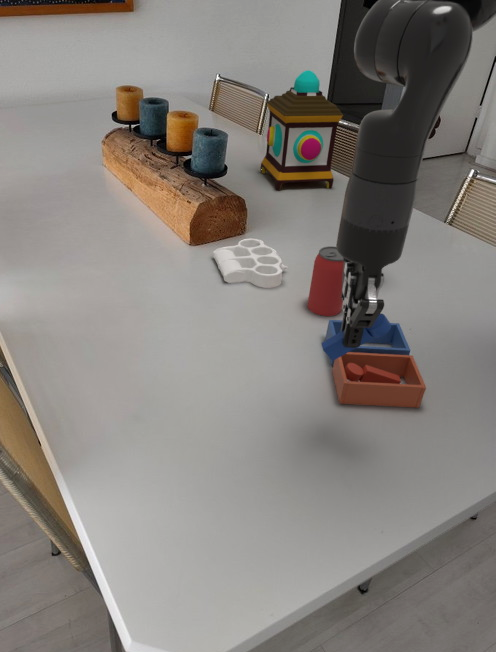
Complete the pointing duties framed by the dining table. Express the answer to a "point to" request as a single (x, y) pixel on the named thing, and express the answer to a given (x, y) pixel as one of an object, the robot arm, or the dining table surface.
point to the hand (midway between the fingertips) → (349, 341)
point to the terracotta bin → (380, 392)
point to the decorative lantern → (301, 134)
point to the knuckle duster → (250, 263)
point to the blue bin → (376, 340)
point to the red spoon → (370, 374)
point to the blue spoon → (378, 329)
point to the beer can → (326, 283)
